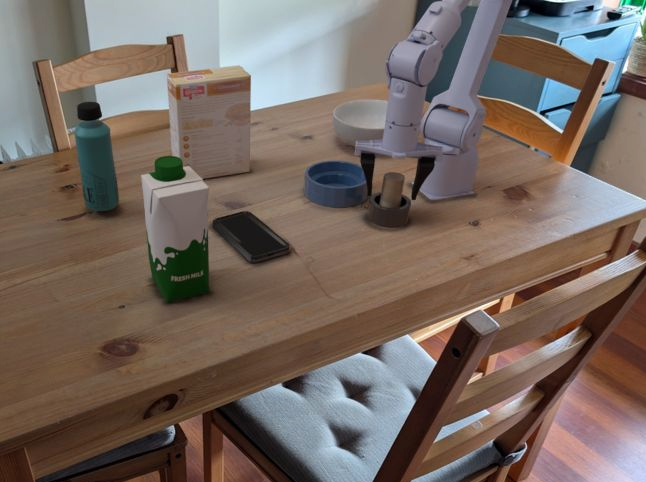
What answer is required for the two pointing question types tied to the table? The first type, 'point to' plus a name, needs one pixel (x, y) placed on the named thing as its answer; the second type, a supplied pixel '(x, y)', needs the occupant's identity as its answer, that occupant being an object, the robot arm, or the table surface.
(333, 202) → the bowl
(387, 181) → the pestle
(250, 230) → the phone
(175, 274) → the milk carton
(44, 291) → the table surface
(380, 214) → the mortar
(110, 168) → the beverage bottle
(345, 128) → the cereal bowl
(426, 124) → the robot arm
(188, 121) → the coffeecake box
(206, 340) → the table surface
